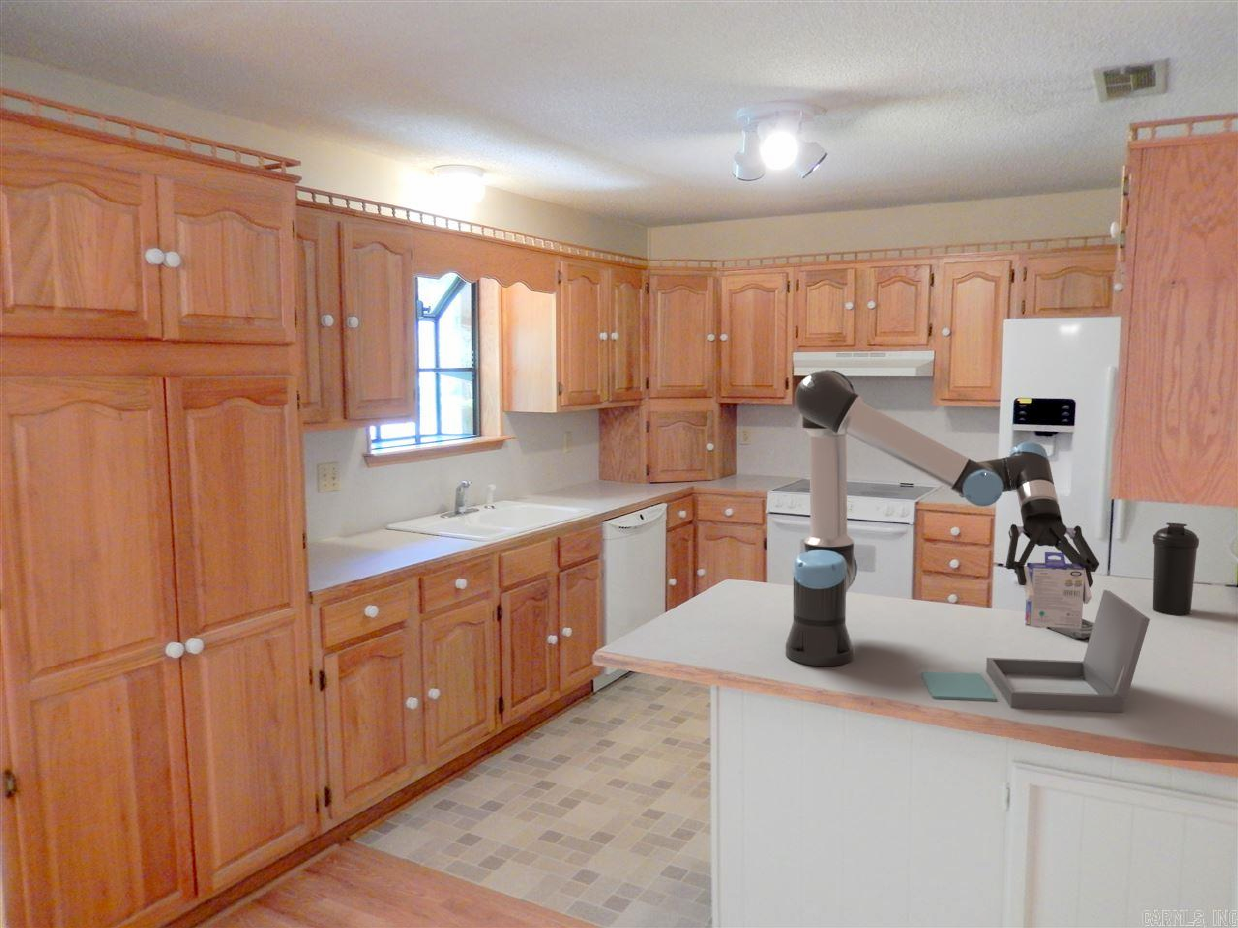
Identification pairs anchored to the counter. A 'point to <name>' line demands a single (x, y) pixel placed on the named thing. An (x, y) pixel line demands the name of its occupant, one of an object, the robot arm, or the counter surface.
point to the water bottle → (1174, 569)
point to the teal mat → (957, 686)
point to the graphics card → (1075, 630)
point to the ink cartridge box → (1056, 593)
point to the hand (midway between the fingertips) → (1059, 599)
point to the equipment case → (1085, 664)
